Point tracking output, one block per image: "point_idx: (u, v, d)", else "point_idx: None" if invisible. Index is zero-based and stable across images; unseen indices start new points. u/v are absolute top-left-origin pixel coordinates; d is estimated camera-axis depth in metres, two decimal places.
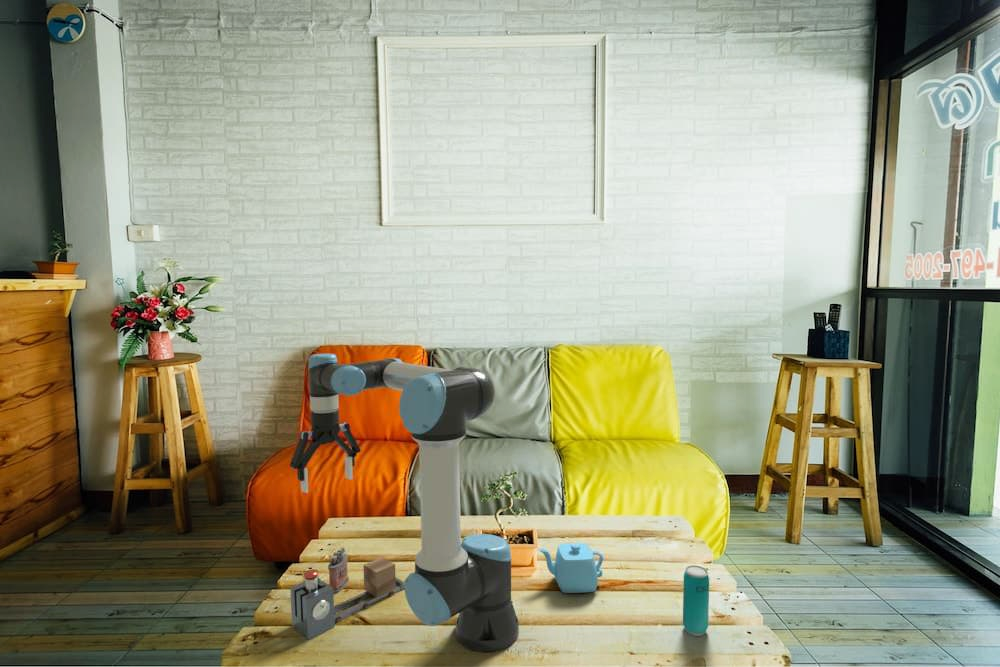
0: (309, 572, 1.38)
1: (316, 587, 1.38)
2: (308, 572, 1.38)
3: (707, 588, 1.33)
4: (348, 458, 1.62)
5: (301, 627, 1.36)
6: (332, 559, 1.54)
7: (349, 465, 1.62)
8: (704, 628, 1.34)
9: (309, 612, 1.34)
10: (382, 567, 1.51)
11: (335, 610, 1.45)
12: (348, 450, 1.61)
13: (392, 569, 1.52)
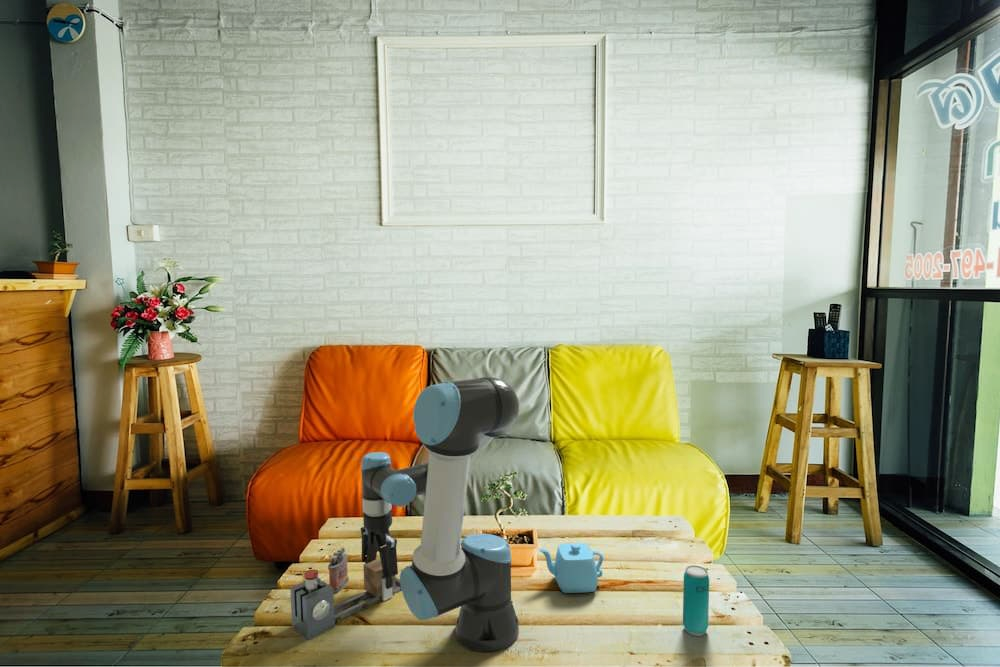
0: (309, 572, 1.38)
1: (316, 587, 1.38)
2: (308, 572, 1.38)
3: (707, 588, 1.33)
4: None
5: (301, 627, 1.36)
6: (332, 559, 1.54)
7: None
8: (704, 628, 1.34)
9: (309, 612, 1.34)
10: None
11: (335, 610, 1.45)
12: (382, 567, 1.49)
13: None
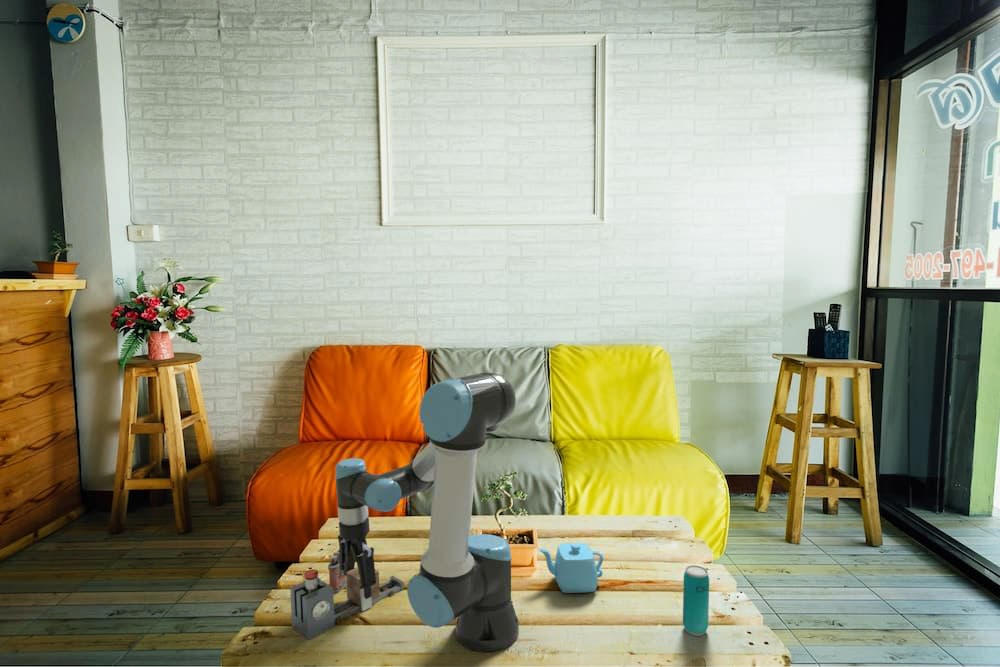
0: (309, 572, 1.38)
1: (316, 587, 1.38)
2: (308, 572, 1.38)
3: (707, 588, 1.33)
4: None
5: (301, 627, 1.36)
6: (332, 559, 1.54)
7: None
8: (704, 628, 1.34)
9: (309, 612, 1.34)
10: None
11: (335, 610, 1.45)
12: (360, 577, 1.45)
13: (376, 576, 1.49)
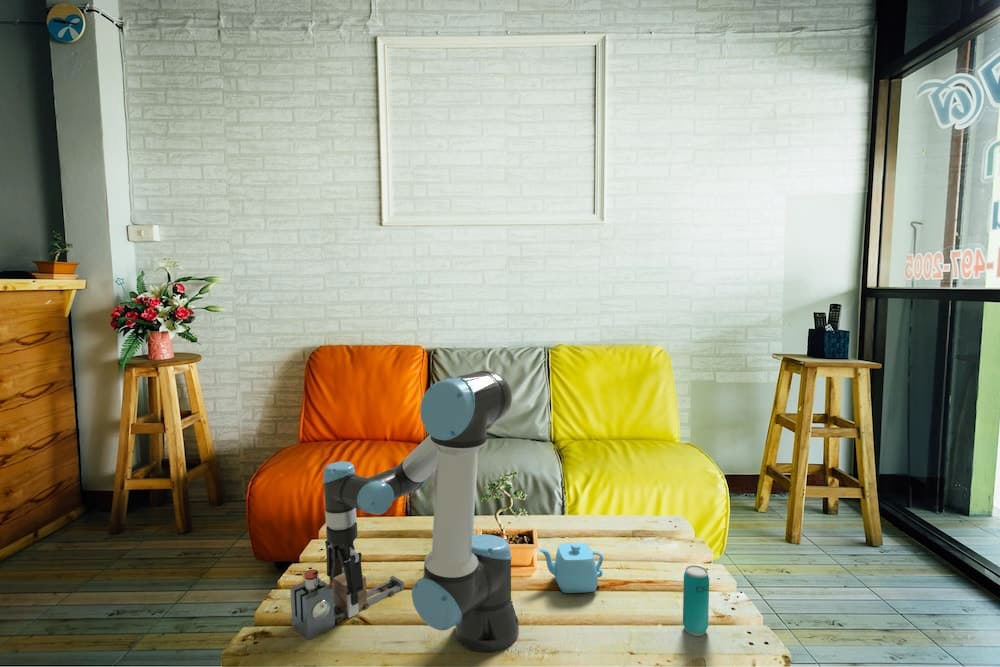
0: (309, 572, 1.38)
1: (316, 587, 1.38)
2: (308, 572, 1.38)
3: (707, 588, 1.33)
4: None
5: (301, 627, 1.36)
6: None
7: None
8: (704, 628, 1.34)
9: (309, 612, 1.34)
10: None
11: (335, 610, 1.45)
12: (347, 583, 1.42)
13: (363, 582, 1.46)
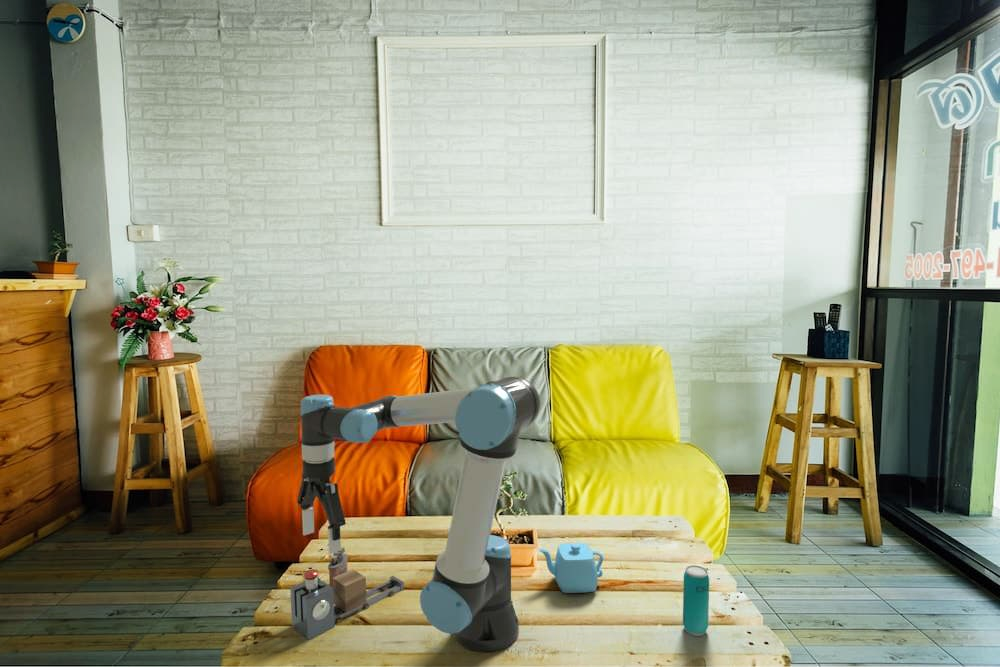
0: (309, 572, 1.38)
1: (316, 587, 1.38)
2: (308, 572, 1.38)
3: (707, 588, 1.33)
4: None
5: (301, 627, 1.36)
6: (332, 559, 1.54)
7: None
8: (704, 628, 1.34)
9: (309, 612, 1.34)
10: (352, 580, 1.45)
11: (335, 610, 1.45)
12: (327, 517, 1.34)
13: (362, 582, 1.46)
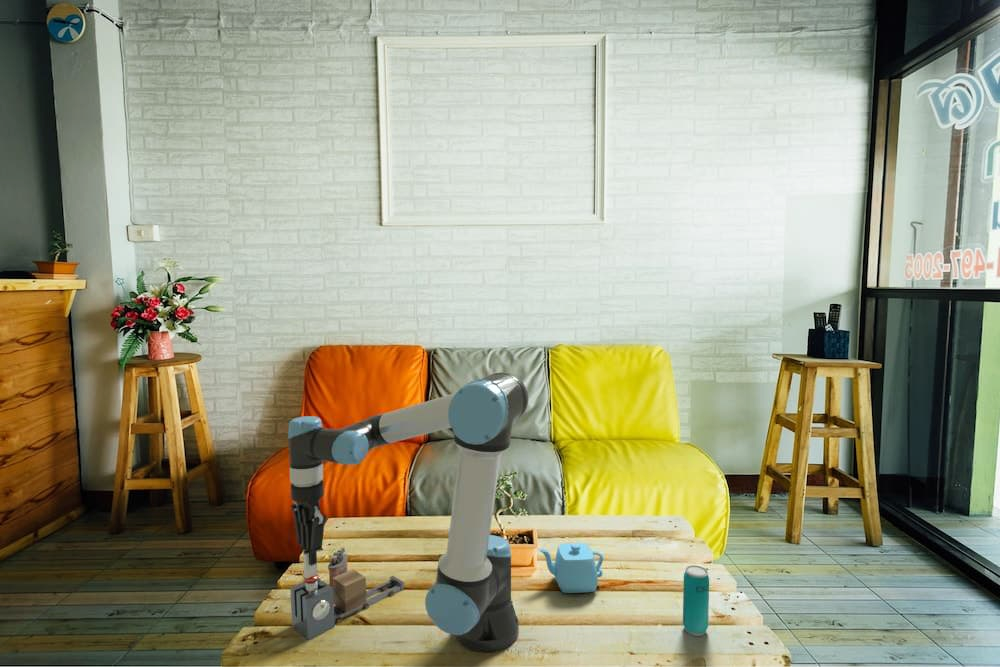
0: None
1: None
2: None
3: (707, 588, 1.33)
4: None
5: (301, 627, 1.36)
6: (332, 559, 1.54)
7: None
8: (704, 628, 1.34)
9: (309, 612, 1.34)
10: (352, 580, 1.45)
11: (335, 610, 1.45)
12: (306, 541, 1.36)
13: (362, 582, 1.46)
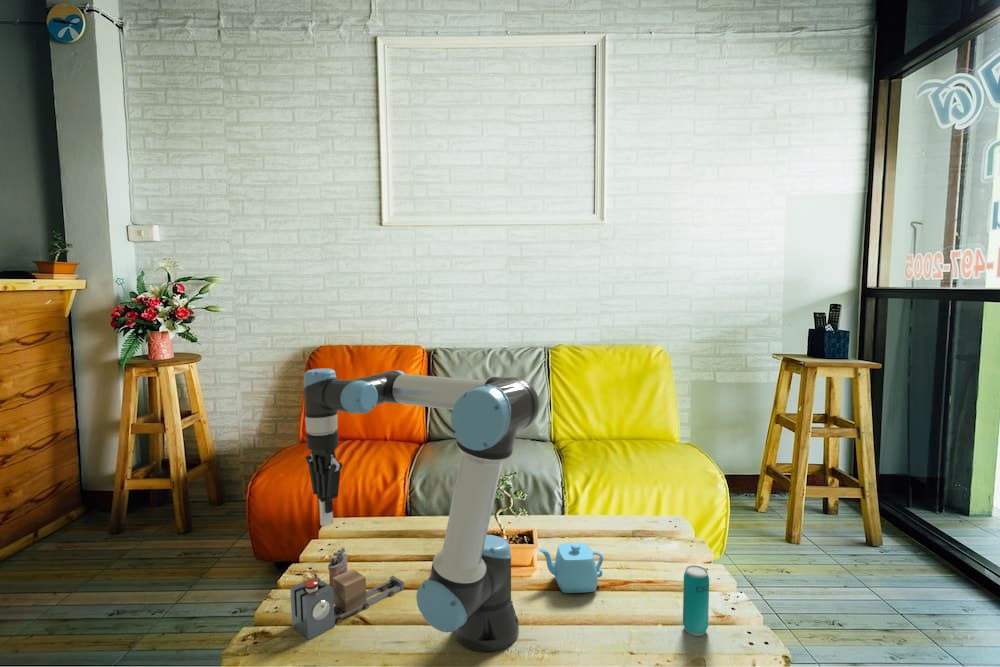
0: (309, 581, 1.39)
1: None
2: (308, 581, 1.39)
3: (707, 588, 1.33)
4: None
5: (301, 627, 1.36)
6: (332, 559, 1.54)
7: None
8: (704, 628, 1.34)
9: (309, 612, 1.34)
10: (352, 580, 1.45)
11: (335, 610, 1.45)
12: (323, 490, 1.40)
13: (362, 582, 1.46)
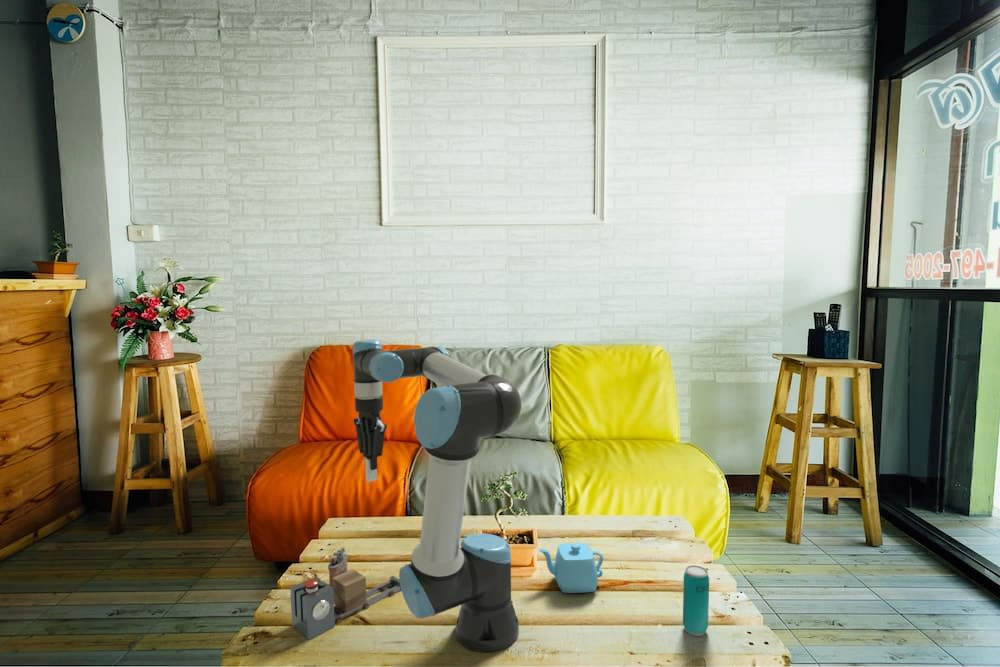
0: (309, 581, 1.39)
1: None
2: (308, 581, 1.39)
3: (707, 588, 1.33)
4: None
5: (301, 627, 1.36)
6: (332, 559, 1.54)
7: None
8: (704, 628, 1.34)
9: (309, 612, 1.34)
10: (352, 580, 1.45)
11: (335, 610, 1.45)
12: (369, 449, 1.55)
13: (362, 582, 1.46)
